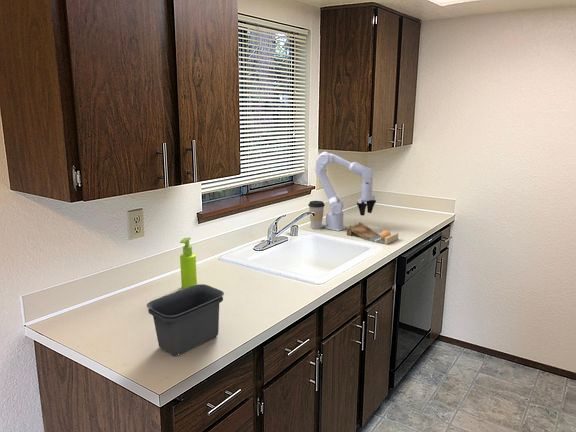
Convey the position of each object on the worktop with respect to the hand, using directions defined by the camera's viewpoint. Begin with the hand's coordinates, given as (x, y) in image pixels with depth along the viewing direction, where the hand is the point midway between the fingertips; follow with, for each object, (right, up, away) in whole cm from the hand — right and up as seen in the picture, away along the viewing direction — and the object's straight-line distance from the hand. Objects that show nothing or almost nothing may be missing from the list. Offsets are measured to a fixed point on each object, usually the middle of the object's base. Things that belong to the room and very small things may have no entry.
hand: (365, 214), depth 259 cm
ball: (+7, -11, -17) cm, 22 cm away
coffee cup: (-27, -8, +7) cm, 29 cm away
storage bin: (-74, -39, -118) cm, 145 cm away
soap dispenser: (-82, -29, -77) cm, 117 cm away
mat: (+5, -13, -15) cm, 21 cm away
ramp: (-3, -13, -8) cm, 15 cm away
